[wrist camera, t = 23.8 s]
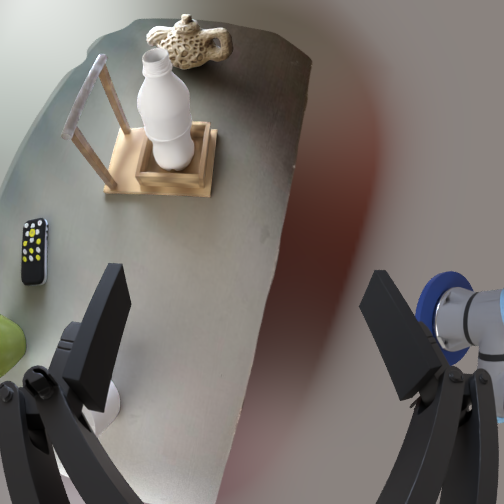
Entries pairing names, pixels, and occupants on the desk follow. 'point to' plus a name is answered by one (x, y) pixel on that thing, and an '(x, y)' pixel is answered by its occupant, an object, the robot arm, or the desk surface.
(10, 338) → the flower pot
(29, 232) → the remote control
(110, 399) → the cup
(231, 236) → the desk surface
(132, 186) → the rack
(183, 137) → the water bottle
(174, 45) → the teapot
